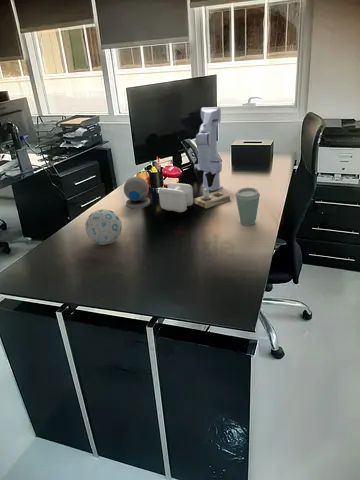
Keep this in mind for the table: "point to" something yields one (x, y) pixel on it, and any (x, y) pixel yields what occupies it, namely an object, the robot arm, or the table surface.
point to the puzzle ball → (103, 226)
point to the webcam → (136, 192)
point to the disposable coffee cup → (247, 205)
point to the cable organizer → (176, 197)
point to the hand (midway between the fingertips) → (205, 184)
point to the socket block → (212, 199)
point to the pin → (205, 194)
